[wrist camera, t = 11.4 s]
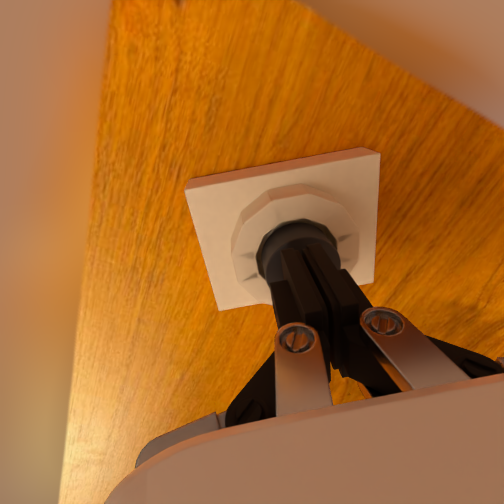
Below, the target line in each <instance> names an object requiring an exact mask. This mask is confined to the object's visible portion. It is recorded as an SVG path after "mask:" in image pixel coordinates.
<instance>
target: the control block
mask: <svg viewBox="0 0 504 504" xmlns="http://www.w3.org/2000/svg"><path fill="white" fill-rule="evenodd" d="M379 173H380V153H378V152H375V151H373V150H370V149H367V148H364V147H358V148H353V149H347V150H342V151H337V152H331V153H326V154H321V155H315V156H310V157H305V158H299V159H294V160H289V161H283V162H278V163H273V164H267V165H262V166H257V167H251V168H246V169H241V170H236V171H230V172H225V173H220V174H214V175H209V176H204V177H198V178H193V179H189V181H188V183H187V185H186V187H185V190H184V192H185V196H186V199H187V203H188V206H189V209H190V213H191V216H192V220H193V223H194V227H195V230H196V234H197V237H198V241H199V244H200V247H201V251H202V254H203V258H204V261H205V265H206V268H207V272H208V275H209V278H210V282H211V285H212V289H213V292H214V296H215V299H216V303H217V306H218V309H219V311H222V310H227V309H233V308H238V307H243V306H249V305H254V304H260V303H265V304H269V305H273V303H272V298H271V292H270V288H269V287H268V284H267V282H266V278H265V274H264V269H263V265H262V259H261V253H262V248H263V246H264V243H265V242H266V240H267V239H268V237H269V236H270V235H271V234H272V233H273V232H274V231H275V230H277V229H278V228H280V227H282V226H284V225H287V224H290V223H297V222H302V223H308V224H312V225H314V226H316V227H318V228H319V229H320V230H322V231H323V232H324V234H325V235H326V236H327V238H328V239H329V240H330V242H331V243H332V244H333V246H334V247H335V248H336V250H337V252H338V254H339V256H340V260H341V269H346V270H347V271H348V272H349V274H350V275H351V277H352V278H353V279H354V281H355V282H356V284H357V285H363V284H368V283H373V282H374V264H375V246H376V228H377V209H378V191H379Z"/></svg>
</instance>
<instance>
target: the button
mask: <svg viewBox="0 0 504 504" xmlns="http://www.w3.org/2000/svg"><path fill="white" fill-rule="evenodd" d="M315 243H320V244H321V246H322V247H323V249H324V250H325V252H326V253H327V255H328V256H329V258H330V259H331V261H332V262H333V264H334V265H335V267H336V268H337V270H339V269H341V260H340V256H339V254H338V252H337V250H336V248H335V247H334V246H333V244H332V243H331V242H330V240H329V239H328V238H327V236H326V235H325V234H324V232H323V231H322V230H320V229H319V228H318V227H316V226H314V225H312V224H308V223H302V222H297V223H290V224H287V225H284V226H282V227H280V228H278V229H277V230H275V231H274V232H273V233H272V234H271V235H270V236H269V237H268V239H267V240H266V242H265V243H264V246H263V248H262V253H261V259H262V265H263V269H264V274H265V278H266V282H267V284H268V287H269V288H270V286H269V283H271V282H276V281H282V280H284V277H283V270H282V262H281V254H280V250H283V249H289V248H294V250H295V251H296V250H299V252H300V254H301V256H302V249H306V245H310V244H315Z"/></svg>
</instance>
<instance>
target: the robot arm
mask: <svg viewBox="0 0 504 504" xmlns="http://www.w3.org/2000/svg"><path fill="white" fill-rule="evenodd" d="M280 254H281V262H282V270H283V277H284V280H282V281H276V282H271V283H269V286H270V292H271V298H272V303H273V309H274V313H275V318H276V322H277V326H278V331H277V333H276V335H275V340H274V342H275V351H274V352H273V353H272V354H271V356H270V357H269V358H268V359H267V360H266V362H265V363H264V364H263V365H262V366H261V368H260V369H259V370H258V371H257V372H256V374H255V375H254V376H253V377H252V378H251V380H250V381H249V382H248V383H247V384H246V386H245V387H244V388H243V389H242V390H241V392H240V393H239V394H238V395H237V396H236V398H235V399H234V400H233V401H232V402H231V404H230V406H229V407H228V409H227V410H226V411H224V412H222V413H220V414H216V412H213V413H211V414H209V415H207V416H204V417H202V418H200V419H197V420H195V421H193V422H191V423H188V424H186V425H184V426H182V427H179V428H177V429H175V430H172V431H170V432H168V433H166V434H163V435H161V436H159V437H156V438H155V439H153V440H152V441H150V442H149V443H148V444H147V445H146V446H145V447H144V448H143V449H142V450H141V452H140V454H139V456H138V458H137V460H136V466H135V470H133V471H132V472H131V473H130V474H129V475H127V476H126V477H125V478H124V479H123V480H122V481H121V482H120V483H119V484H118V485H117V486H116V487H115V488H114V490H113V491H112V492H111V493H110V495H109V497H108V498H107V500H106V501H105V503H104V504H504V357H497V359H496V361H493V360H492V359H490V358H488V357H486V356H483V355H481V354H478V353H476V352H473V351H470V350H467V349H464V348H461V347H458V346H455V345H452V344H450V343H447V342H444V341H441V340H438V339H435V338H432V337H429V336H426V335H424V334H423V333H422V332H421V331H419V330H418V329H417V328H416V327H415V326H414V325H413V324H412V323H411V322H410V321H409V320H408V319H407V318H405V317H404V316H403V315H402V314H401V313H399V312H398V311H396V310H393V309H391V308H387V307H373V306H372V305H371V303H370V302H369V300H368V299H367V298H366V296H365V295H364V293H363V292H362V291H361V289H360V288H359V286H358V285H357V284H356V282H355V281H354V279H353V278H352V277H351V275H350V274H349V272H348V271H347V270H346V269H339V270H337V268H336V267H335V265H334V264H333V262H332V261H331V259H330V258H329V256H328V255H327V253H326V252H325V250H324V249H323V247H322V246H321V244H320V243H315V244H310V245H306V249H302V256H301V254H300V252H299V250H296V251H295V250H294V248H289V249H283V250H280ZM330 362H331V364H332V367H333V369H334V370H335V369H339V371H340V374H341V376H342V378H343V377H350V378H352V379H354V380H356V381H357V384H358V387H359V389H360V391H361V392H362V394H363V395H364V397H365V400H360V401H355V402H349V403H344V404H339V405H334V406H333V402H332V397H331V392H330V387H329V383H330V381H331V370H330Z"/></svg>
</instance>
